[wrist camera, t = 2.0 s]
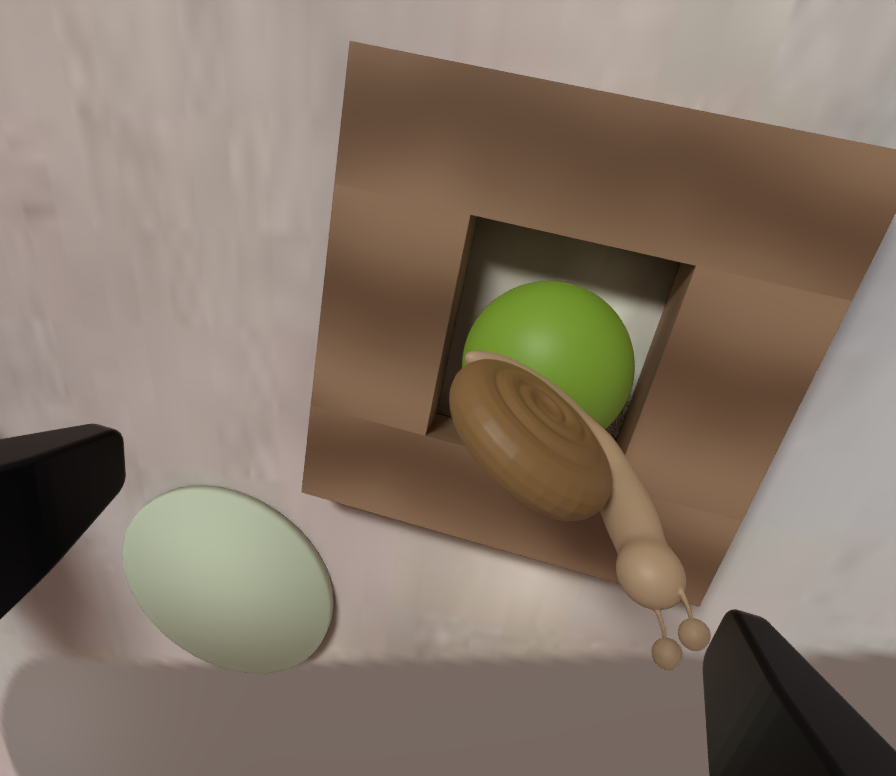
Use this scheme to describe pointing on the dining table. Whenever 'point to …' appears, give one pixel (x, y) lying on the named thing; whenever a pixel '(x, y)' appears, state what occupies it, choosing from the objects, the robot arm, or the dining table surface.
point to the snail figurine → (568, 432)
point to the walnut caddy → (595, 220)
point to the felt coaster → (228, 579)
